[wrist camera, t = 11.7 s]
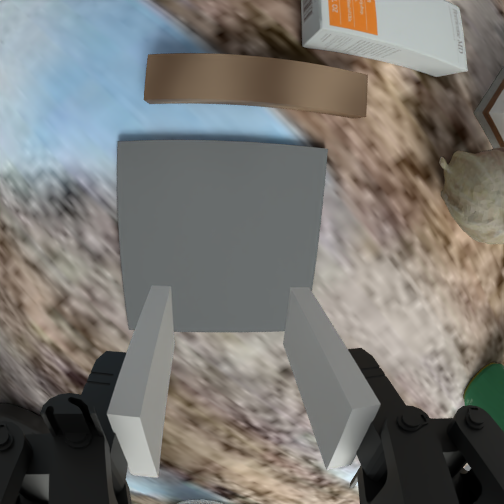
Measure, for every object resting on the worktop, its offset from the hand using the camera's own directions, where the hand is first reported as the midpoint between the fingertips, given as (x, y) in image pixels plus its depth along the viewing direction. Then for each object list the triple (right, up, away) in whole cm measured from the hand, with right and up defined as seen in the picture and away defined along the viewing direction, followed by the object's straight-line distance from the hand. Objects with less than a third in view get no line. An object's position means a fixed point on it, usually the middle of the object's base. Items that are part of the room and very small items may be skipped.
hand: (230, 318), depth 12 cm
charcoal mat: (-1, +3, +10) cm, 10 cm away
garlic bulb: (+19, +9, +11) cm, 23 cm away
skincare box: (+4, +19, +3) cm, 19 cm away
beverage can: (+34, -16, +21) cm, 43 cm away
